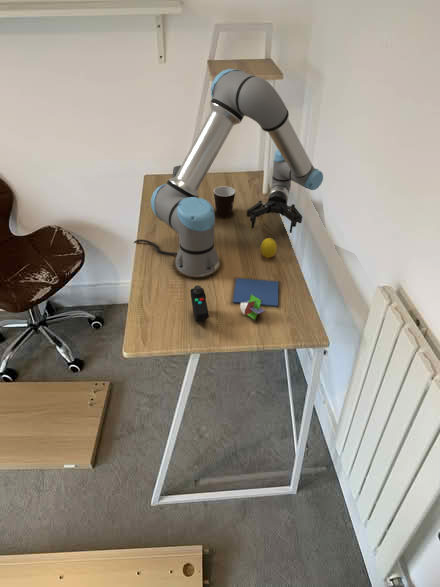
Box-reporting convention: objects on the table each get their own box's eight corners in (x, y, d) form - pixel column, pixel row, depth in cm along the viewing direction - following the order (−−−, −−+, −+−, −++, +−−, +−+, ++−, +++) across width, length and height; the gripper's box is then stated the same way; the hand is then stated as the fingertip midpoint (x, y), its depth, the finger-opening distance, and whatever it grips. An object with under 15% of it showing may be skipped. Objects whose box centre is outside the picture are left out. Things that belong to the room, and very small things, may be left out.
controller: (204, 306, 135) (203, 280, 128) (210, 334, 126) (210, 308, 119) (190, 307, 134) (189, 282, 128) (195, 335, 125) (194, 310, 119)
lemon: (258, 253, 157) (260, 234, 152) (274, 252, 157) (276, 233, 152) (261, 262, 153) (262, 243, 147) (276, 261, 153) (278, 242, 148)
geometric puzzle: (255, 296, 135) (246, 287, 129) (272, 306, 132) (264, 298, 125) (242, 315, 135) (232, 307, 128) (259, 326, 131) (250, 318, 125)
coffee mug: (226, 221, 174) (226, 198, 167) (209, 214, 178) (209, 192, 171) (242, 209, 181) (244, 187, 174) (226, 203, 185) (226, 181, 178)
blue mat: (232, 303, 136) (232, 301, 136) (236, 279, 145) (236, 278, 145) (277, 306, 135) (277, 305, 134) (278, 282, 144) (278, 281, 144)
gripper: (308, 211, 170) (305, 240, 154) (245, 204, 174) (236, 232, 158) (311, 194, 165) (308, 222, 149) (246, 187, 169) (237, 213, 153)
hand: (271, 227), depth 154 cm, fingers open, 13 cm apart
